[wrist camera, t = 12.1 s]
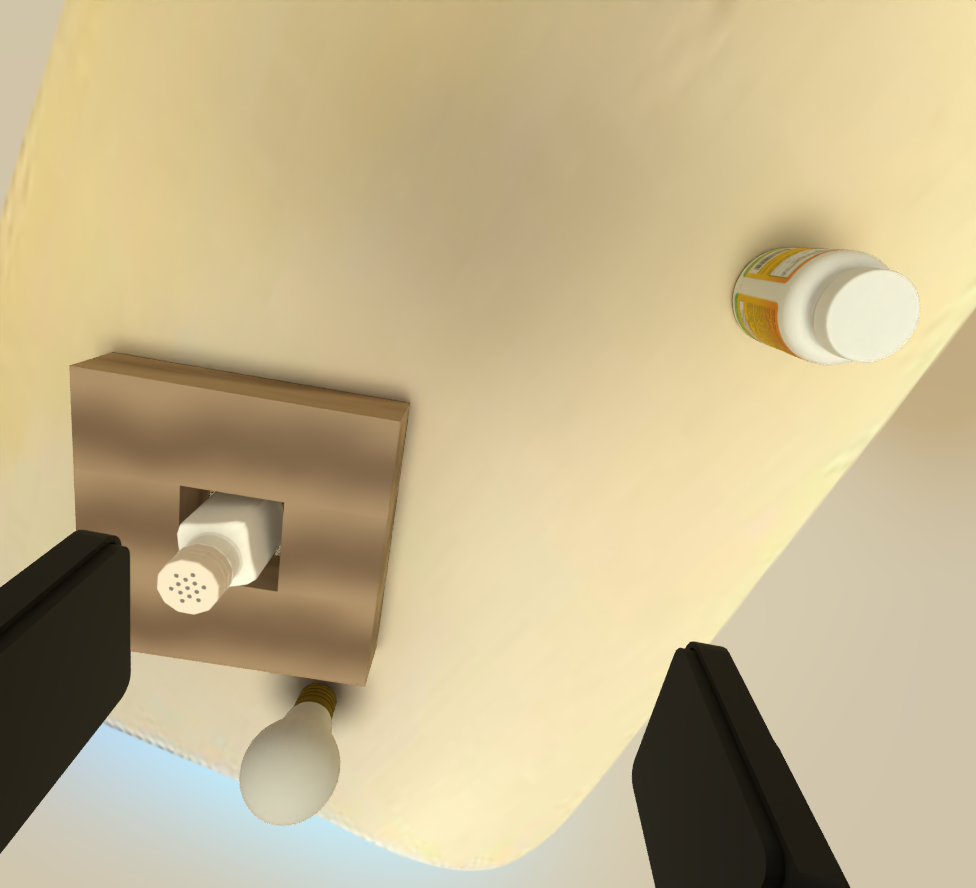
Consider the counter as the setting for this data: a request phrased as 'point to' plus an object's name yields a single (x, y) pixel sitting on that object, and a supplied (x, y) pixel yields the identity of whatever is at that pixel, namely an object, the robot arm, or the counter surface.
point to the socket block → (253, 473)
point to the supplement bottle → (826, 305)
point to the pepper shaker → (220, 550)
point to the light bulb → (293, 761)
